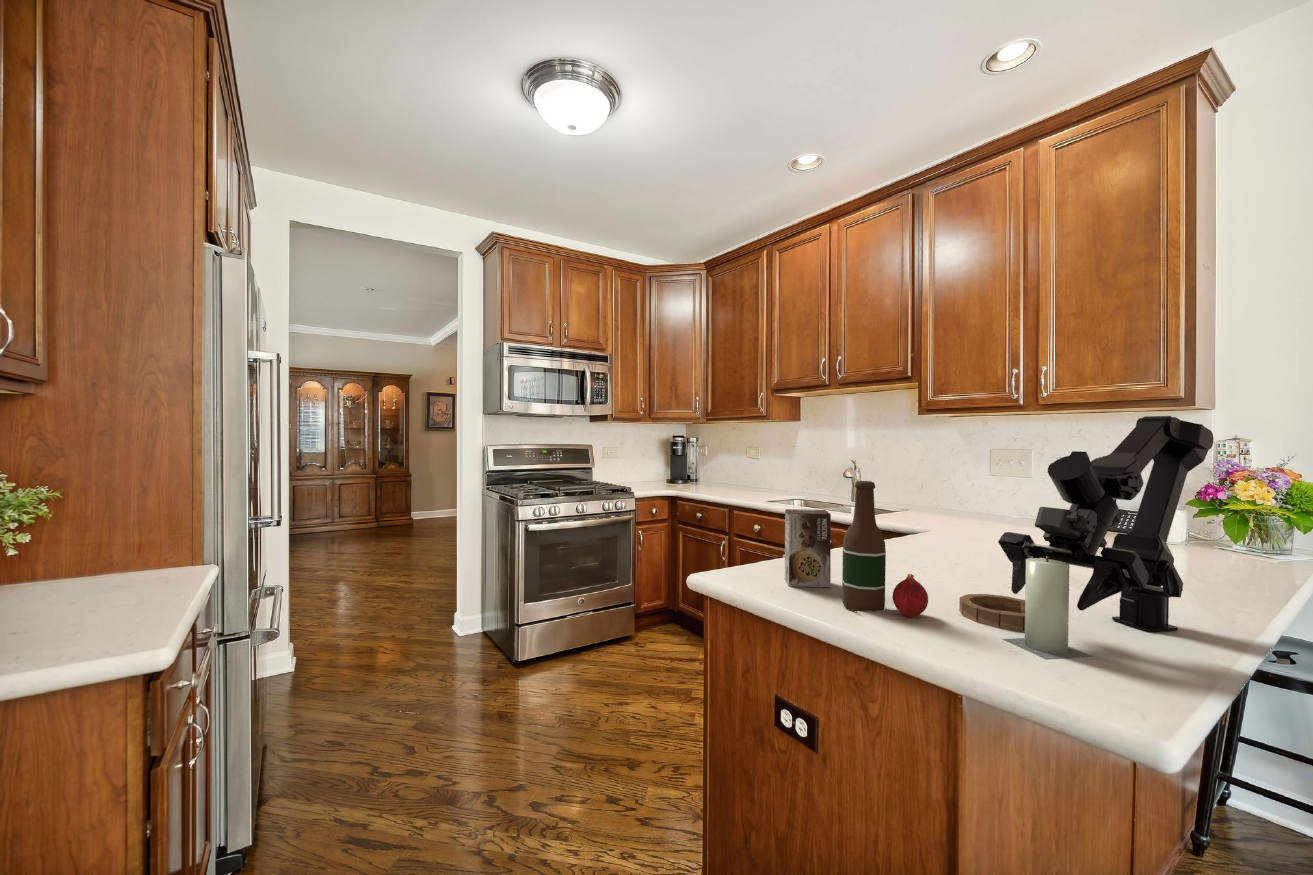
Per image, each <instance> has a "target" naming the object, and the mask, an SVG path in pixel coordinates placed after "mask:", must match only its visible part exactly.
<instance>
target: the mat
mask: <svg viewBox="0 0 1313 875" xmlns="http://www.w3.org/2000/svg"><path fill="white" fill-rule="evenodd" d="M1002 640H1003V641H1005V642H1007V643H1010V644H1011V645H1013V646H1016V647H1018V648H1020V649H1023V650H1025V651H1027V652H1029V653H1031V654H1033V655H1036V656H1038V657H1039V658H1042V659H1044V660H1059V659H1077V658H1093V657H1094V656H1093V655H1091V654H1088V653H1086V652H1083V651H1081V650H1078V649H1076V648H1074V647H1071V646H1069V645H1068V653H1066V654H1050V653H1045V652H1040V651H1037V650H1034V649H1031V648H1029V647H1027V646H1026V645H1025V637H1016V638H1002Z"/></svg>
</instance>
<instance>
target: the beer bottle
mask: <svg viewBox="0 0 1313 875" xmlns="http://www.w3.org/2000/svg"><path fill="white" fill-rule="evenodd" d="M854 488H856V489H855V498H854V500H855V501H854V510H853V511H854V512H853V520H852V523H851V524H850V525H849V527H848V528H847V530H846V531H845V534H844V535H843V536H844V537H843V542H842V543H843V544H842V568H841V569H842V572H841V573H842V574H841V575H842V581H841V583H842V584H841V595H842V596H841V598H842V600H841V601H842V605H843V607H844V608H845V610H848V609H849V610H848V611H851V610H853V611H852V612H854V611H856V612H877V611H885V605H886V571H887V570H886V565H887V564H886V562H887V558H886V557H887V556H886V555H887V550H886V541H885V539H884V534H883V533H882V531H881V530H880V528H879V527H878V525H877V520H876V513H875V512H876V511H875V510H876V509H875V508H876V507H875V490H874V489H876V484H875V482H874V481H872V480H871V481H870V480H857V481H855V483H854Z"/></svg>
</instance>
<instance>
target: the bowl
mask: <svg viewBox="0 0 1313 875" xmlns="http://www.w3.org/2000/svg"><path fill="white" fill-rule="evenodd" d="M958 603H959V610H958V611H959V614H961V615H960V616H962V617H963V618H966V619H968V620H970V621H972V622H975V623H978V624H980V625H986V626H988V627H989V626H990V627H993V628H998V629H1002V630H1003V629H1004V630H1012V631H1020V632H1025V599H1022V598H1017V597H1012V596H1007V595H1006V596H1005V595H998V594H991V593H989V594H988V593H969V594H965V595H962V596H959V602H958Z"/></svg>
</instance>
